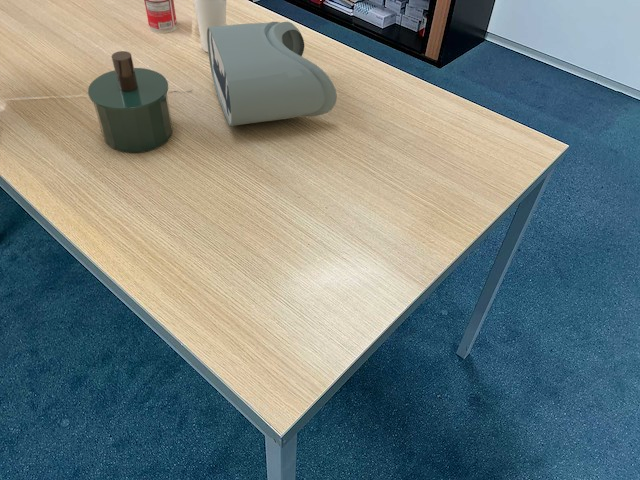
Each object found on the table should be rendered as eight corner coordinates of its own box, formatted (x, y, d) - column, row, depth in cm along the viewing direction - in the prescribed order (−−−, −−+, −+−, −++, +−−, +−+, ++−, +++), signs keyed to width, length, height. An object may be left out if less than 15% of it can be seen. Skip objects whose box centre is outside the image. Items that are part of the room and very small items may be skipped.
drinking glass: (213, 38, 121) (206, -33, 110) (236, 48, 119) (232, -24, 108) (191, 49, 117) (182, -23, 106) (215, 59, 115) (208, -14, 104)
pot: (100, 155, 91) (87, 111, 85) (107, 116, 99) (96, 73, 92) (171, 151, 92) (164, 107, 86) (173, 112, 100) (166, 70, 94)
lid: (84, 116, 85) (73, 77, 80) (94, 74, 93) (84, 37, 88) (167, 112, 86) (161, 74, 82) (169, 72, 95) (164, 35, 90)
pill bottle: (161, 21, 126) (153, -30, 118) (183, 27, 124) (176, -23, 116) (143, 31, 122) (134, -20, 114) (166, 38, 120) (157, -14, 112)
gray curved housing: (210, 78, 109) (204, 15, 100) (301, 68, 114) (303, 7, 105) (233, 142, 95) (228, 75, 86) (336, 127, 100) (341, 62, 90)
